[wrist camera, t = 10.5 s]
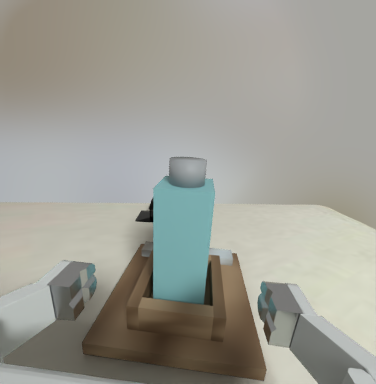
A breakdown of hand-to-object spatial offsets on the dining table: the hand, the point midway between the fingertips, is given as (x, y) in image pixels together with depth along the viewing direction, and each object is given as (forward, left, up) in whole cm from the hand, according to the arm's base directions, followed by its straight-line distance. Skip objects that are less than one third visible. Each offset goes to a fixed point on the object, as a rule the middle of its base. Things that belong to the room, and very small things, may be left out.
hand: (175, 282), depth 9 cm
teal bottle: (0, +8, -9) cm, 12 cm away
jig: (0, +9, -10) cm, 14 cm away
